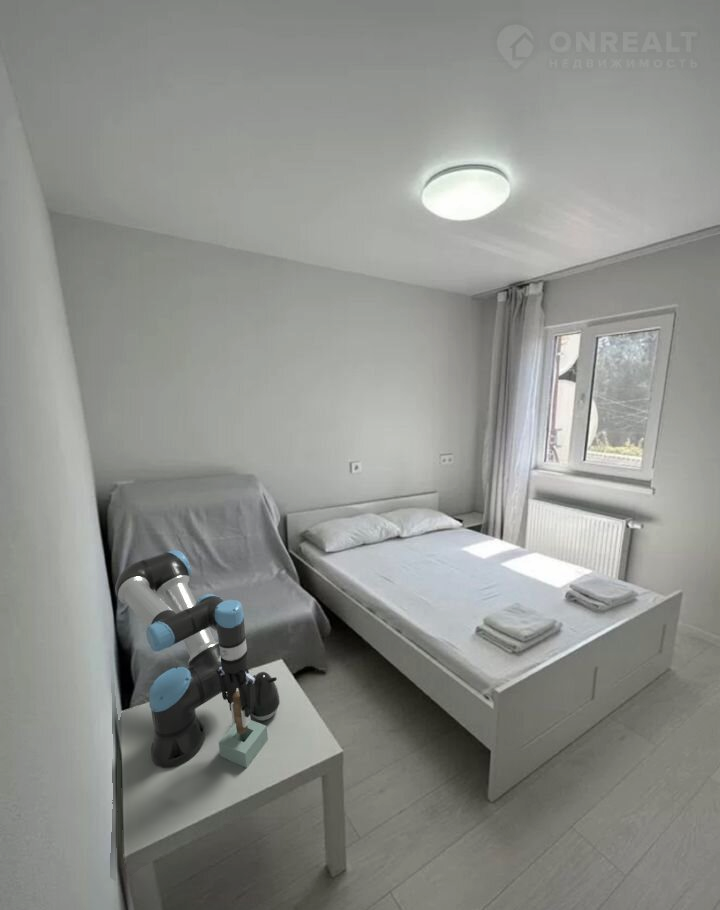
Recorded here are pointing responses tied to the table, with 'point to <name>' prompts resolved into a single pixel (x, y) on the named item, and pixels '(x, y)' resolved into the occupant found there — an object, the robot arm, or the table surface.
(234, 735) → the socket block
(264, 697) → the pump dispenser
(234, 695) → the peg
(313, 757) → the table surface
